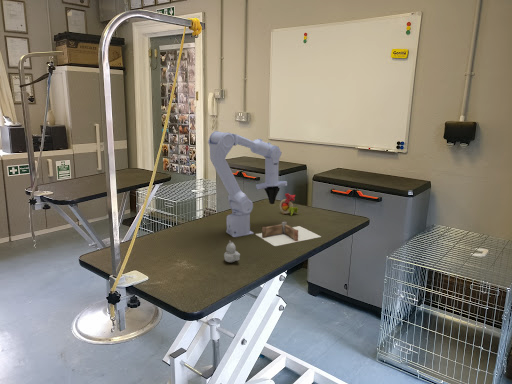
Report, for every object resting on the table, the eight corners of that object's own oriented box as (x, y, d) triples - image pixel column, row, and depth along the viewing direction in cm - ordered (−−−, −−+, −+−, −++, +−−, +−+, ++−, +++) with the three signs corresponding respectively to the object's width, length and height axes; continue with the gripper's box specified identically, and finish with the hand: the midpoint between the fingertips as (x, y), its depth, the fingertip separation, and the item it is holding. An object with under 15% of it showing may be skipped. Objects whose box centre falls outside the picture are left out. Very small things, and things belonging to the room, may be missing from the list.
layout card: (274, 247, 154) (274, 245, 154) (255, 235, 168) (255, 233, 168) (321, 237, 164) (321, 236, 164) (299, 226, 178) (299, 225, 178)
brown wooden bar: (284, 233, 167) (284, 224, 166) (287, 233, 167) (287, 224, 167) (295, 240, 159) (295, 231, 158) (298, 239, 159) (299, 230, 159)
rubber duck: (230, 257, 145) (229, 236, 143) (244, 261, 141) (244, 239, 139) (220, 262, 140) (219, 240, 139) (234, 266, 137) (234, 244, 135)
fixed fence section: (263, 238, 163) (263, 226, 162) (261, 236, 164) (261, 225, 163) (287, 233, 168) (287, 222, 167) (285, 232, 170) (285, 221, 169)
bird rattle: (281, 219, 196) (296, 214, 191) (272, 198, 195) (288, 192, 191) (286, 216, 201) (302, 211, 196) (278, 195, 201) (293, 190, 196)
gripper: (261, 176, 167) (261, 207, 170) (291, 172, 174) (290, 203, 177) (253, 173, 173) (254, 204, 176) (282, 170, 180) (282, 199, 183)
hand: (271, 203), depth 177 cm, fingers closed
